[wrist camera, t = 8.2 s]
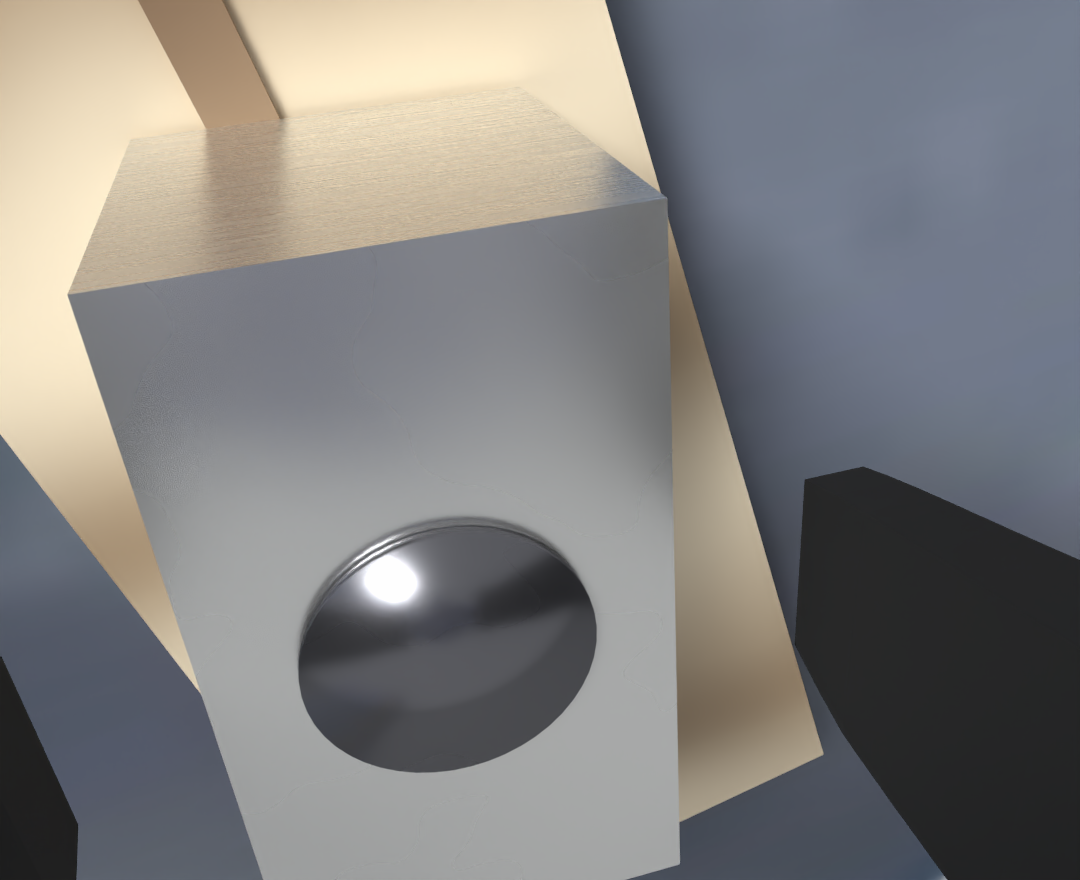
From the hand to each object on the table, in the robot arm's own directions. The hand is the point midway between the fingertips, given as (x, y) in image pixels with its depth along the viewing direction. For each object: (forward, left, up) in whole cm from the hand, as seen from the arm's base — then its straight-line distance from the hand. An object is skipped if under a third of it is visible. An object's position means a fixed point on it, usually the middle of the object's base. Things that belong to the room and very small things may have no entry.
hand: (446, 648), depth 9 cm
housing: (0, 0, -5) cm, 5 cm away
